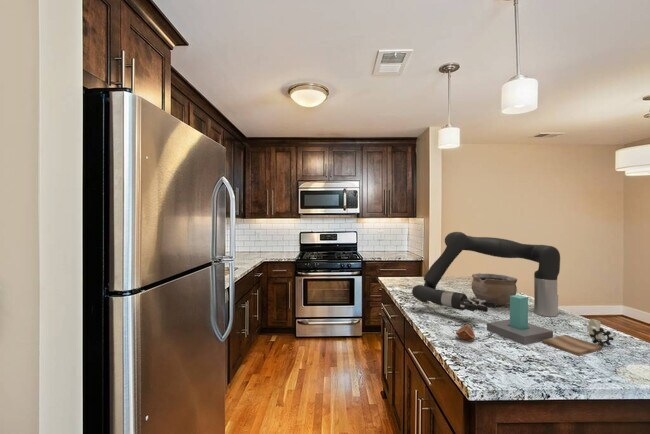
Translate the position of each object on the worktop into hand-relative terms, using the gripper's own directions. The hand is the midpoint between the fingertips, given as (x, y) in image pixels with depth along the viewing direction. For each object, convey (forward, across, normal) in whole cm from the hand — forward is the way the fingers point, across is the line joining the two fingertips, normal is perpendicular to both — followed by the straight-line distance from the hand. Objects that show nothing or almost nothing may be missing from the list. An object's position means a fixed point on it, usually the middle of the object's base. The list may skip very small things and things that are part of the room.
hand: (491, 307), depth 133 cm
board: (+27, +1, +8) cm, 28 cm away
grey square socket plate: (+10, 0, +8) cm, 13 cm away
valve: (+32, +15, +9) cm, 37 cm away
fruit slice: (-2, -21, +9) cm, 23 cm away
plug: (+10, 0, +8) cm, 13 cm away
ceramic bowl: (-14, +42, +9) cm, 45 cm away
